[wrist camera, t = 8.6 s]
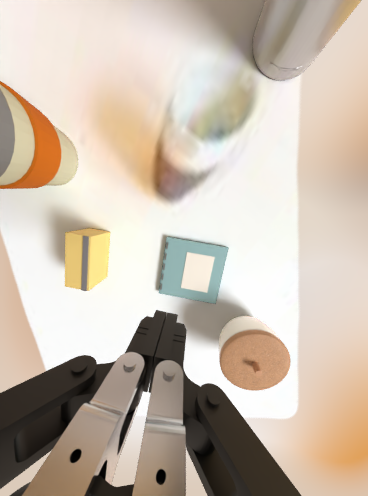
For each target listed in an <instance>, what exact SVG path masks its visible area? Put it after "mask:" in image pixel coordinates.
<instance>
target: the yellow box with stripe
mask: <svg viewBox="0 0 368 496" xmlns="http://www.w3.org/2000/svg"><path fill="white" fill-rule="evenodd" d="M109 243H110V232H108V231H103V230H97V229H92V228H87V229H81V230H76V231H70V232H65V286H66V287H71V288H76V289H81V290H83V291H89V290H90V289H92V288H93V287H94V286H96V285H97V284H98V283H100V282H101V281H102V280H104V279H105V278H106V277H107V273H108V258H109Z"/></svg>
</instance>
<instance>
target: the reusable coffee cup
mask: <svg viewBox="0 0 368 496" xmlns="http://www.w3.org/2000/svg"><path fill="white" fill-rule="evenodd" d="M77 168H78V155H77V151H76V149H75V147H74V145H73V143H72V142H71V140H70V139H69V138H68V137H67V136H66V135H65V134H64V133H62V132H61V131H60V130H58V129H57V128H56V127H55V126H53V125H52V124H51V122H50V121H49V120H48V118H47V117H46V116H45V115H43V114H42V113H41V112H40V111H39V110H38V109H36V108H35V107H34V106H33V105H31V104H30V103H29V102H28V101H26V100H25V99H24V98H23V97H21V96H20V95H19V94H18V93H16V92H15V91H14V90H13V89H11V88H10V87H9V86H7V85H6V84H4V83H2V82H1V81H0V189H14V188H38V187H42V186H44V185H55V186H56V185H63V184H66V183H68V182H69V181H70V180H71V179H72V178H73V177H74V176H75V174H76V171H77Z"/></svg>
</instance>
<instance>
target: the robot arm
mask: <svg viewBox="0 0 368 496" xmlns="http://www.w3.org/2000/svg"><path fill="white" fill-rule="evenodd" d="M360 2H361V0H265V2H264V5H263V8H262V11H261V14H260V17H259V20H258V23H257V26H256V29H255V33H254V38H253V55H254V59H255V62H256V64H257V66H258V67H259V69H260V70H261V71H262V72H263V73H264V74H265V75H266V76H268V77H269V78H271V79H275V80H288V79H292V78H294V77H296V76H298V75H300V74H301V73H302V72H304V71H305V70H306V69H307V68H308V67H309V66H310V65H311V63H312V62H313V61H314V60H315V58H316V57H317V56H318V55H319V53H320V52H321V51H322V49H323V48H324V47H325V46H326V44H327V43H328V42H329V41H330V39H331V38H332V37H333V36H334V35H335V33H336V32H337V31H338V29H339V28H340V27H341V26H342V24H343V23H344V22H345V21H346V19H347V18H348V17H349V15H350V14H351V13H352V12H353V10H354V9H355V8H356V7H357V5H358V4H359V3H360ZM166 314H167V316H166ZM177 316H178V315H177V314H172V313H167V312H163V311H158V310H156V312H155V314H154V317H153V318H152V317H148V316H147V317H145V318H144V319H143V320H141V322H140V324H139V326H138V328H137V330H136V333H135V334H134V336H133V338H132V340H131V342H130V344H129V346H128V348H127V350H126V352H125V354H123V355H121V356H120V357H119V358H118V359H117V360H116V361H115V362H112V363H106V364H97V363H96V360H95V359H94V358H93V357H91V356H87V355H83V356H78V357H75V358H73V359H71V360H69V361H67V362H65V363H63V364H61V365H59V366H56V367H54V368H52V369H50V370H48V371H46V372H44V373H42V374H40V375H38V376H35V377H33V378H31V379H29V380H27V381H25V382H23V383H21V384H19V385H16V386H14V387H12V388H10V389H8V390H6V391H4V392H2V393H0V489H1V488H2V487H3V486H5V485H6V484H7V483H9V482H10V481H11V480H13V479H14V478H15V477H17V476H18V475H19V474H21V473H22V472H23V471H25V469H27V468H29V467H30V466H31V465H33V464H34V463H35V462H36V461H38V460H39V459H40V458H41V457H43V456H44V455H46V454H47V453H48V452H50V451H51V450H52V451H51V453H50V454H49V456H48V457H47V459H46V460H45V462H44V463H43V465H42V466H41V468H40V469H39V471H38V472H37V474H36V475H35V477H34V478H33V480H32V481H31V482H30V483H28V484H26V485H24V486H23V487H21V488H20V489H19V490H17V491H16V492H14V493H13V494H12V495H10V496H186V447H187V451H188V453H189V455H190V458H191V460H192V462H193V464H194V466H195V468H196V471H197V473H198V475H199V477H200V480H201V482H202V484H203V486H204V489H205V491H206V493H207V495H208V496H301V495H300V493H299V492H298V491H297V489H296V488H295V486H294V485H293V484H292V482H291V481H290V480H289V478H288V477H287V476H286V475H285V473H284V472H283V470H282V469H281V468H280V467H279V465H278V464H277V463H276V461H275V460H274V459H273V457H272V456H271V454H270V453H269V452H268V451H267V449H266V448H265V447H264V445H263V444H262V443H261V441H260V440H259V438H258V437H257V436H256V434H255V433H254V432H253V430H252V429H251V428H250V427H249V425H248V424H247V422H246V421H245V420H244V418H243V417H242V416H241V414H240V413H239V412H238V410H237V409H236V408H235V406H234V405H233V404H232V402H231V401H230V400H229V398H228V397H227V396H226V394H225V393H224V392H223V391H222V390H221V389H220V388H219V387H218V386H216V385H214V384H204V385H202V386H201V387H200V386H198V385H197V384H195V383H193V382H192V381H191V380H190V379H189V378H188V377H187V376H186V374H185V372H184V369H183V361H184V351H185V341H186V328H185V326H184V324H181V323H176V321H177ZM150 380H151V381H150ZM149 384H150V387H149ZM148 388H149V393H151V395H150V400H149V406H148V411H147V417H146V422H145V428H144V433H143V439H142V445H141V450H140V455H139V460H138V466H137V472H136V478H135V482H134V484H133V485H127V486H121V487H114V486H112V485H111V484H112V481H113V478H114V474H115V470H116V466H117V463H118V460H119V457H120V455H121V452H122V449H123V446H124V444H125V441H126V438H127V435H128V433H129V430H130V427H131V425H132V422H133V419H134V417H135V414H136V411H137V408H138V404H139V402H140V399H141V396H142V392H143V391H145V392H147V391H148Z"/></svg>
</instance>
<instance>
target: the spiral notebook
mask: <svg viewBox="0 0 368 496" xmlns="http://www.w3.org/2000/svg"><path fill="white" fill-rule="evenodd" d="M227 252H228V247H224V246H218V245H213V244H207V243H201V242H196V241H190V240H184V239H179V238H173V237H167V239H166V246H165V253H164V259H163V266H162V273H161V280H160V287H159V293H160V294H165V295H171V296H176V297H181V298H187V299H192V300H197V301H203V302H208V303H213V304H216V300H217V295H218V291H219V287H220V282H221V278H222V274H223V270H224V265H225V261H226V257H227Z"/></svg>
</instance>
